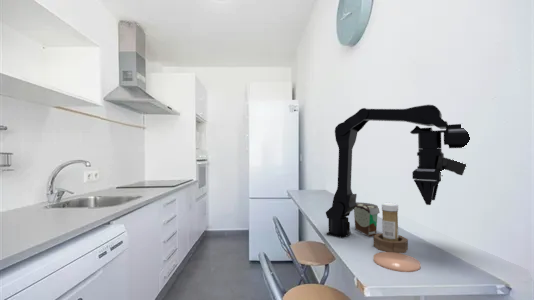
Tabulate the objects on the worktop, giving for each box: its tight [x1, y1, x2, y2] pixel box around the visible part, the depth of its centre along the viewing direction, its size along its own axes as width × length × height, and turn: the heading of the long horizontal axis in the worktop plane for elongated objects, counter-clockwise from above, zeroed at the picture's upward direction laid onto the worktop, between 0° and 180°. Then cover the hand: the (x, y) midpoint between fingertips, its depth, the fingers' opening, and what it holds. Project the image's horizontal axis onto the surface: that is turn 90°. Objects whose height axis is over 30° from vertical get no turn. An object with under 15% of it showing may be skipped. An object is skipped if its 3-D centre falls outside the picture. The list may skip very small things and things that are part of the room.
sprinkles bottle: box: [381, 202, 399, 242], centre depth 78 cm, size 5×5×13 cm
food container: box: [353, 201, 380, 238], centre depth 94 cm, size 12×6×10 cm, turn 9°
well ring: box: [372, 232, 409, 254], centre depth 78 cm, size 9×9×3 cm
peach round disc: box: [373, 251, 421, 273], centre depth 67 cm, size 11×11×1 cm
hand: (430, 202), depth 74 cm, fingers open, 9 cm apart
